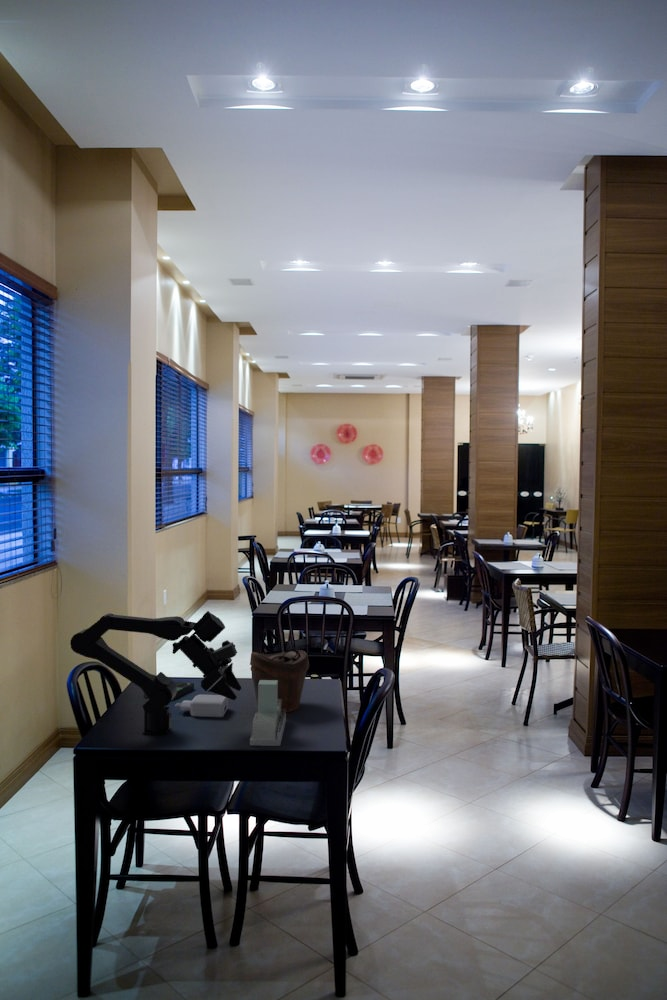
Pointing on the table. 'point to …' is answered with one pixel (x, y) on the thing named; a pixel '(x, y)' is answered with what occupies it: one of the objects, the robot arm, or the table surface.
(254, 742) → the rail
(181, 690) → the disk drive
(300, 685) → the brown flower pot
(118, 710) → the table surface
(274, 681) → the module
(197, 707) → the charger
